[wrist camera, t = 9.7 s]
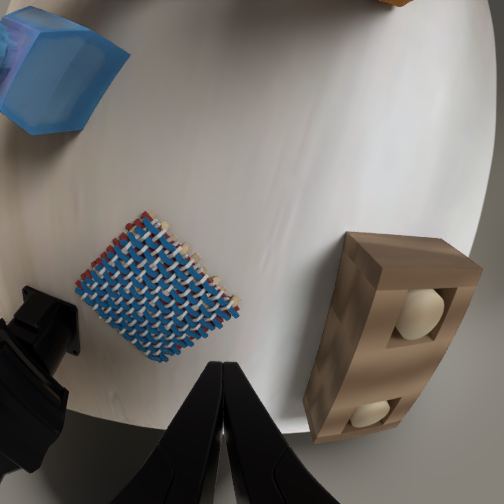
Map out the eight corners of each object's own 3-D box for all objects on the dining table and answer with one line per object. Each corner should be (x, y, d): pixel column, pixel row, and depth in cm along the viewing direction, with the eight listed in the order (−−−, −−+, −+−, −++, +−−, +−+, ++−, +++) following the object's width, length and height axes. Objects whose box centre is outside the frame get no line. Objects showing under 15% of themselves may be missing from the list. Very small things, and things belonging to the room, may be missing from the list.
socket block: (379, 390, 30) (396, 427, 24) (302, 400, 29) (313, 444, 23) (441, 238, 22) (483, 268, 16) (346, 231, 21) (382, 268, 15)
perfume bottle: (82, 129, 16) (-47, 152, 5) (33, 96, 14) (-86, 104, 3) (130, 55, 14) (25, -6, 3) (74, 27, 12) (-31, -17, 2)
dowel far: (363, 384, 28) (380, 423, 23) (332, 388, 28) (346, 430, 23) (375, 360, 27) (396, 400, 22) (341, 364, 26) (359, 408, 21)
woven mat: (153, 199, 19) (145, 206, 17) (245, 299, 23) (247, 313, 21) (75, 278, 21) (65, 290, 19) (159, 355, 25) (156, 370, 23)
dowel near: (400, 298, 24) (432, 336, 18) (363, 299, 23) (392, 342, 18) (412, 258, 22) (451, 293, 17) (375, 257, 22) (411, 295, 16)
